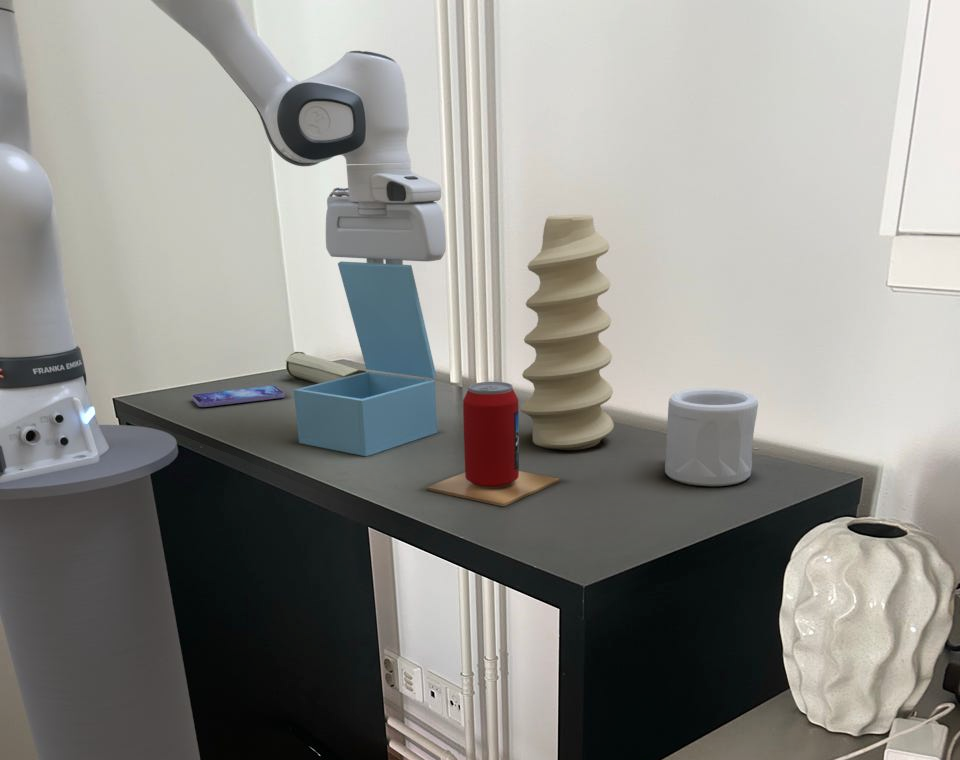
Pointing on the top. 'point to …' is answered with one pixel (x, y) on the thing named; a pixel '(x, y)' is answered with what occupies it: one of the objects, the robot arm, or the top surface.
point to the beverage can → (491, 434)
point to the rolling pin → (317, 368)
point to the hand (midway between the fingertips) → (386, 292)
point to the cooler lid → (388, 317)
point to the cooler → (366, 412)
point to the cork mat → (496, 496)
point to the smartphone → (237, 396)
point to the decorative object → (569, 337)
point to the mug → (710, 436)
